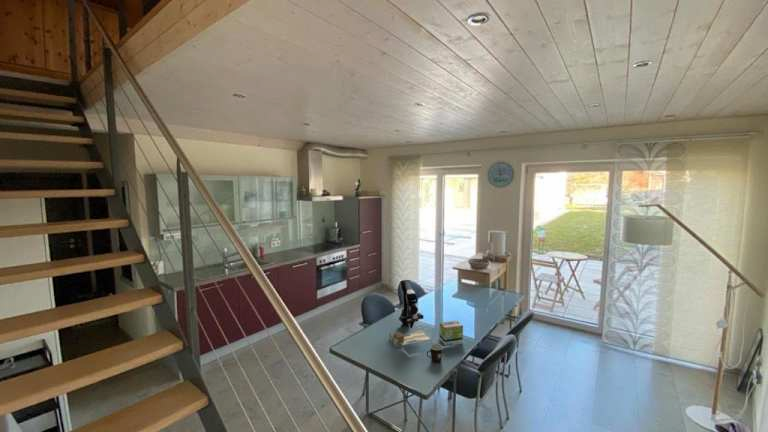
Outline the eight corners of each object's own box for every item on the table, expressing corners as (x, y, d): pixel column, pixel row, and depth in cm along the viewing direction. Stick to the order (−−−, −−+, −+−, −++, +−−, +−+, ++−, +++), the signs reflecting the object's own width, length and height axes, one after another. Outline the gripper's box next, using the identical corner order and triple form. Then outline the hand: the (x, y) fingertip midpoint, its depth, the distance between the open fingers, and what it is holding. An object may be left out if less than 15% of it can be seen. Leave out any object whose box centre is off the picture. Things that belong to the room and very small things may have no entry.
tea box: (444, 347, 241) (445, 327, 239) (439, 340, 250) (439, 322, 249) (463, 344, 245) (463, 325, 243) (456, 337, 254) (456, 319, 253)
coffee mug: (441, 357, 227) (441, 343, 226) (443, 364, 218) (444, 349, 217) (424, 357, 226) (424, 343, 225) (426, 364, 218) (426, 350, 217)
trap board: (389, 339, 253) (389, 333, 253) (421, 332, 264) (421, 326, 263) (397, 348, 239) (397, 341, 239) (430, 340, 250) (430, 334, 249)
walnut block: (393, 339, 249) (393, 333, 248) (400, 338, 251) (400, 332, 251) (396, 343, 243) (396, 337, 243) (403, 341, 246) (403, 335, 245)
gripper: (404, 314, 238) (405, 334, 240) (427, 310, 245) (427, 330, 247) (398, 309, 248) (398, 328, 250) (420, 305, 255) (420, 324, 257)
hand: (411, 328), depth 251 cm, fingers closed
